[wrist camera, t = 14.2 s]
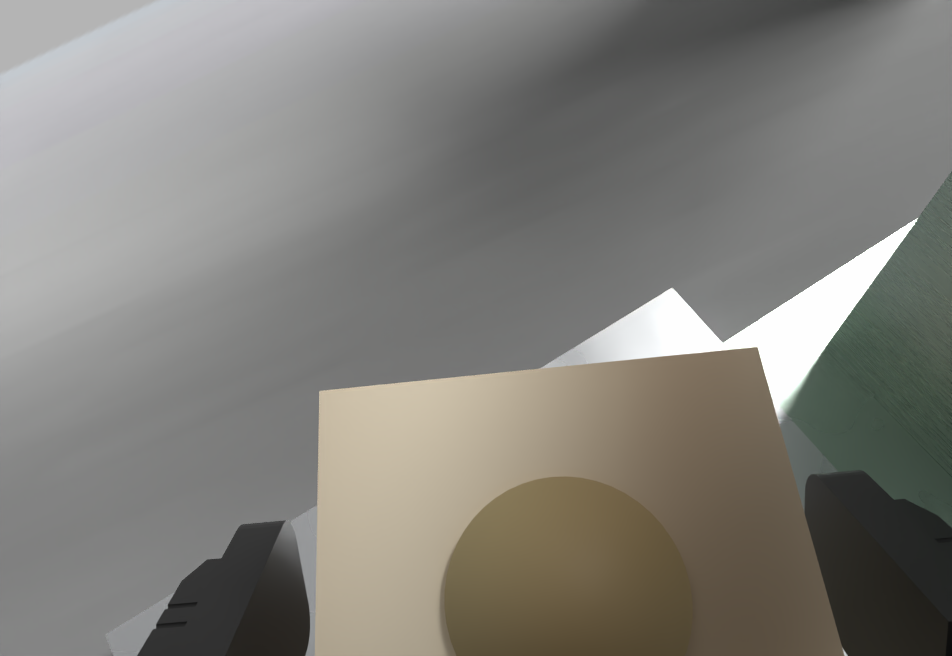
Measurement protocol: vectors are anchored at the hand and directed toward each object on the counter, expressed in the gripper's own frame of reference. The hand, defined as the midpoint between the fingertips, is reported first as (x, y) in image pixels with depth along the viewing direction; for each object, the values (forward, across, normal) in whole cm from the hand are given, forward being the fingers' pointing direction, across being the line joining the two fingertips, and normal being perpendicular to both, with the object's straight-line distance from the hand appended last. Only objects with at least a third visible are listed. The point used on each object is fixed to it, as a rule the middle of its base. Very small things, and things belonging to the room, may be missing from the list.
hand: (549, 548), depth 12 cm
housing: (+3, 0, +5) cm, 6 cm away
